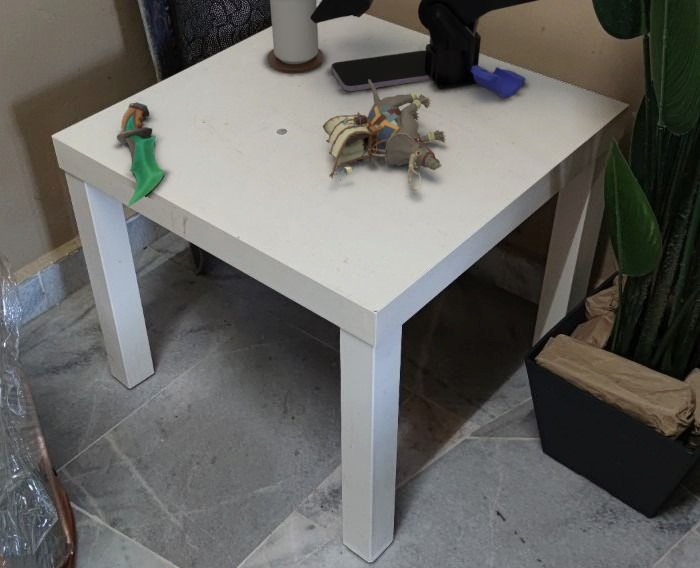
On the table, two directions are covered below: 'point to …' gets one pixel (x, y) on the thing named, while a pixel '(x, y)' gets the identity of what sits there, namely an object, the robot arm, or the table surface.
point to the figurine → (384, 135)
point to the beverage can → (294, 30)
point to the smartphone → (381, 70)
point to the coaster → (294, 68)
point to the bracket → (498, 80)
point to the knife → (140, 150)
